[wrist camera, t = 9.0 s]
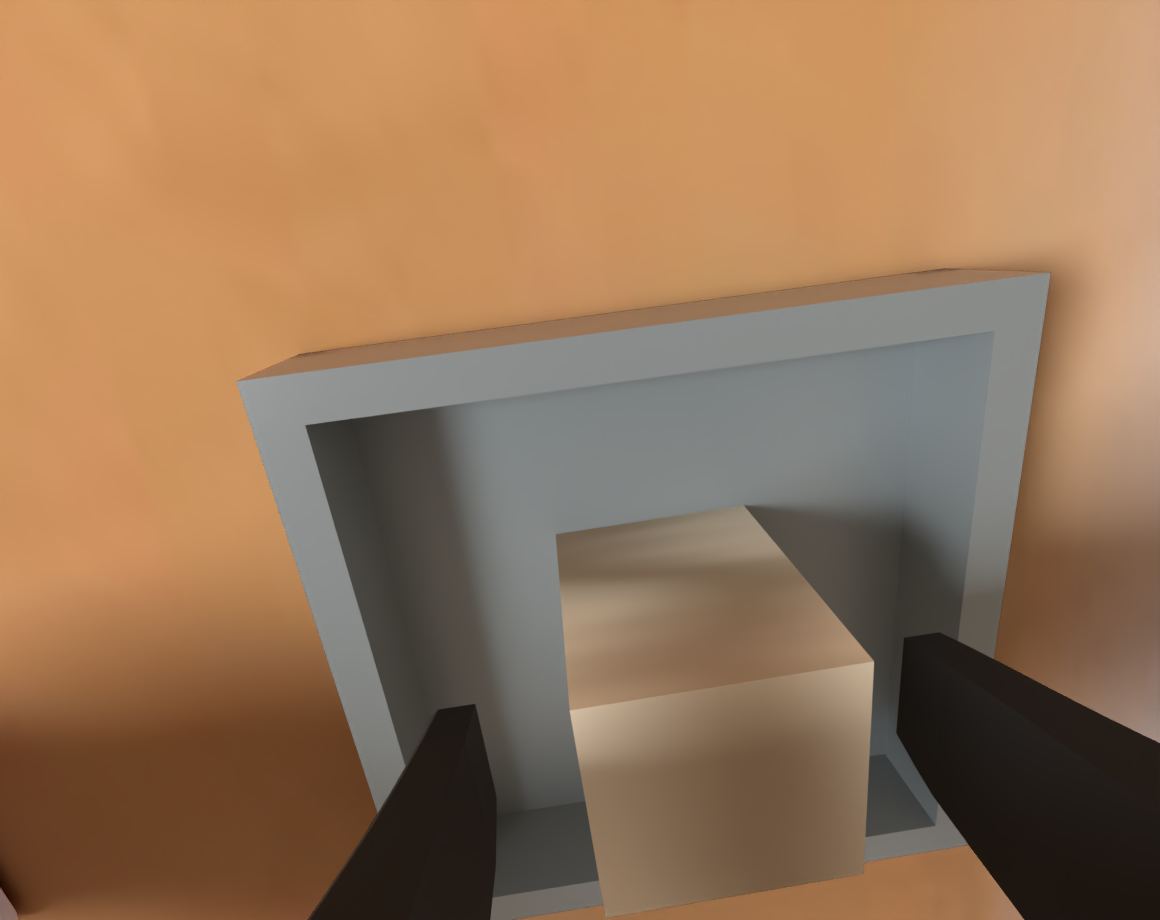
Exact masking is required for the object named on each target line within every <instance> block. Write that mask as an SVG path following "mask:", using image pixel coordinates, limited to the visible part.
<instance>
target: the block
mask: <svg viewBox="0 0 1160 920" xmlns="http://www.w3.org/2000/svg"><path fill="white" fill-rule="evenodd" d="M556 545H557V558H558V570H559V583H560V596H561V608H562V621H563V634H564V646H565V659H566V671H567V684H568V697H569V709H570V716H571V721H572V727H573V733H574V739H575V744H576V750H577V756H578V762H579V767H580V773H581V779H582V785H583V790H584V796H585V802H586V808H587V813H588V819H589V825H590V831H591V836H592V842H593V848H594V854H595V859H596V865H597V871H598V877H599V882H600V888H601V894H602V900H603V905H604V911H605V917H606V918H610V917H616V916H622V915H627V914H633V913H639V912H645V911H651V910H657V909H662V908H668V907H674V906H680V905H686V904H692V903H697V902H703V901H709V900H715V899H721V898H727V897H732V896H738V895H744V894H750V893H756V892H762V891H767V890H773V889H779V888H785V887H791V886H797V885H802V884H808V883H814V882H820V881H826V880H832V879H837V878H843V877H849V876H855V875H861V874H864V855H865V835H866V815H867V795H868V774H869V754H870V734H871V714H872V694H873V674H874V661H873V660H872V658H871V657H870V656H869V655H868V654H867V652H866V651H865V650H864V649H863V648H862V646H861V645H860V644H859V643H858V642H857V640H856V639H855V638H854V637H853V636H852V634H851V633H850V632H849V631H848V630H847V628H846V627H845V626H844V625H843V624H842V622H841V621H840V620H839V619H838V618H837V616H836V615H835V614H834V613H833V612H832V610H831V609H830V608H829V607H828V606H827V604H826V603H825V602H824V601H823V600H822V598H821V597H820V596H819V595H818V594H817V592H816V591H815V590H814V589H813V588H812V586H811V585H810V584H809V583H808V582H807V581H806V579H805V578H804V577H803V576H802V575H801V573H800V572H799V571H798V570H797V569H796V567H795V566H794V565H793V564H792V563H791V561H790V560H789V559H788V558H787V557H786V555H785V554H784V553H783V552H782V551H781V549H780V548H779V547H778V546H777V545H776V543H775V542H774V541H773V540H772V539H771V537H770V536H769V535H768V534H767V533H766V531H765V530H764V529H763V528H762V527H761V525H760V524H759V523H758V522H757V521H756V519H755V518H754V517H753V516H752V515H751V513H750V512H749V511H748V510H747V509H746V507H745V506H744V505H743V506H737V507H730V508H724V509H717V510H711V511H704V512H698V513H691V514H684V515H678V516H671V517H665V518H658V519H652V520H645V521H639V522H632V523H626V524H619V525H613V526H606V527H600V528H593V529H587V530H580V531H574V532H567V533H561V534H556Z"/></svg>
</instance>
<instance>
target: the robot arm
mask: <svg viewBox="0 0 1160 920" xmlns="http://www.w3.org/2000/svg"><path fill="white" fill-rule="evenodd" d="M896 734H897V735H898V737H899V739H900V741H901V742H902V744H903V746H904V748H905V750H906V751H907V753H908V755H909V757H910V758H911V760H912V762H913V764H914V766H915V767H916V769H917V771H918V772H919V774H920V776H921V777H922V779H923V781H924V782H925V784H926V786H927V787H928V789H929V791H930V792H931V794H932V795H933V797H934V798H935V800H936V801H937V802H938V804H939V805H940V806H941V808H942V809H943V811H944V812H945V813H946V815H947V816H948V817H949V819H950V820H951V822H952V823H953V824H954V826H955V827H956V828H957V830H958V831H959V832H960V834H961V835H962V837H963V838H964V839H965V841H966V842H967V843H968V845H969V846H970V847H971V849H972V850H973V851H974V853H975V854H976V855H977V857H978V858H979V859H980V861H981V862H982V863H983V865H984V866H985V867H986V869H987V870H988V871H989V873H990V874H991V875H992V877H993V878H994V880H995V881H996V882H997V884H998V885H999V886H1000V888H1001V889H1002V890H1003V892H1004V893H1005V894H1006V896H1007V897H1008V898H1009V900H1010V901H1011V902H1012V904H1013V905H1014V906H1015V908H1016V909H1017V910H1018V912H1019V913H1020V914H1021V916H1022V917H1023V918H1024V920H1160V743H1158V742H1156V741H1154V740H1152V739H1150V738H1148V737H1146V736H1143V735H1141V734H1139V733H1137V732H1135V731H1133V730H1131V729H1129V728H1127V727H1125V726H1123V725H1121V724H1119V723H1117V722H1115V721H1113V720H1111V719H1109V718H1107V717H1105V716H1103V715H1101V714H1099V713H1097V712H1095V711H1093V710H1091V709H1089V708H1087V707H1085V706H1083V705H1081V704H1079V703H1077V702H1075V701H1073V700H1071V699H1069V698H1067V697H1065V696H1063V695H1061V694H1060V693H1058V692H1056V691H1054V690H1052V689H1050V688H1048V687H1046V686H1044V685H1042V684H1040V683H1038V682H1036V681H1035V680H1033V679H1031V678H1029V677H1027V676H1025V675H1023V674H1021V673H1019V672H1017V671H1015V670H1014V669H1012V668H1010V667H1008V666H1006V665H1004V664H1002V663H1000V662H998V661H996V660H994V659H992V658H991V657H989V656H987V655H985V654H983V653H981V652H979V651H977V650H975V649H973V648H971V647H969V646H967V645H965V644H963V643H961V642H959V641H957V640H955V639H953V638H951V637H949V636H946V635H944V634H942V633H940V632H938V633H931V634H925V635H918V636H912V637H905V638H904V642H903V655H902V667H901V679H900V692H899V704H898V716H897V729H896ZM496 831H497V796H496V792H495V787H494V783H493V779H492V774H491V770H490V766H489V761H488V757H487V752H486V748H485V744H484V739H483V735H482V731H481V726H480V722H479V717H478V713H477V709H476V704H470V705H464V706H457V707H451V708H444V709H438V710H437V712H436V713H435V714H434V715H433V717H432V719H431V720H430V722H429V724H428V726H427V728H426V730H425V732H424V734H423V735H422V737H421V739H420V741H419V743H418V745H417V746H416V748H415V750H414V752H413V754H412V755H411V757H410V759H409V761H408V763H407V764H406V766H405V768H404V770H403V771H402V773H401V775H400V777H399V778H398V780H397V782H396V784H395V785H394V787H393V789H392V790H391V792H390V794H389V795H388V797H387V799H386V800H385V802H384V804H383V805H382V807H381V808H380V810H379V812H378V813H377V815H376V817H375V818H374V820H373V822H372V823H371V825H370V827H369V828H368V830H367V832H366V833H365V835H364V836H363V838H362V839H361V841H360V843H359V844H358V846H357V847H356V849H355V850H354V852H353V853H352V855H351V856H350V858H349V859H348V861H347V862H346V864H345V865H344V867H343V868H342V870H341V871H340V873H339V874H338V876H337V877H336V879H335V880H334V882H333V883H332V885H331V886H330V888H329V889H328V891H327V892H326V894H325V895H324V897H323V898H322V900H321V901H320V902H319V904H318V905H317V907H316V908H315V910H314V911H313V912H312V914H311V915H310V917H309V918H308V919H307V920H490V918H491V909H492V899H493V890H494V880H495V870H496ZM17 918H18V916H17V913H16V910H15V909H14V907H13V906H12V904H11V903H10V901H9V900H8V898H7V897H6V895H5V894H4V892H3V891H2V889H1V888H0V920H17Z"/></svg>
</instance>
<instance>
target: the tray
mask: <svg viewBox="0 0 1160 920" xmlns="http://www.w3.org/2000/svg"><path fill="white" fill-rule="evenodd" d="M1050 275H1051V272H1023V271H996V270H969V269H938V270H930V271H923V272H915V273H908V274H900V275H893V276H885V277H878V278H870V279H863V280H855V281H848V282H840V283H833V284H825V285H817V286H810V287H802V288H795V289H787V290H780V291H772V292H765V293H757V294H750V295H742V296H735V297H727V298H720V299H712V300H704V301H697V302H689V303H682V304H674V305H667V306H659V307H652V308H644V309H637V310H629V311H622V312H614V313H607V314H599V315H591V316H584V317H576V318H569V319H561V320H554V321H546V322H539V323H531V324H524V325H516V326H509V327H501V328H494V329H486V330H478V331H471V332H463V333H456V334H448V335H441V336H433V337H426V338H418V339H411V340H403V341H396V342H388V343H381V344H373V345H366V346H358V347H350V348H343V349H335V350H328V351H320V352H313V353H305V354H299V355H296V356H294V357H292V358H290V359H287V360H285V361H283V362H280V363H278V364H276V365H273V366H271V367H269V368H266V369H264V370H262V371H259V372H257V373H255V374H252V375H250V376H248V377H245V378H243V379H241V380H238V381H236V382H237V385H238V388H239V391H240V394H241V397H242V401H243V404H244V407H245V410H246V413H247V416H248V419H249V422H250V425H251V428H252V431H253V434H254V437H255V440H256V443H257V446H258V449H259V452H260V456H261V459H262V462H263V465H264V468H265V471H266V474H267V477H268V480H269V483H270V486H271V489H272V492H273V495H274V498H275V501H276V504H277V507H278V511H279V514H280V517H281V520H282V523H283V526H284V529H285V532H286V535H287V538H288V541H289V544H290V547H291V550H292V553H293V556H294V559H295V562H296V566H297V569H298V572H299V575H300V578H301V581H302V584H303V587H304V590H305V593H306V596H307V599H308V602H309V605H310V608H311V611H312V614H313V617H314V621H315V624H316V627H317V630H318V633H319V636H320V639H321V642H322V645H323V648H324V651H325V654H326V657H327V660H328V663H329V666H330V669H331V672H332V675H333V679H334V682H335V685H336V688H337V691H338V694H339V697H340V700H341V703H342V706H343V709H344V712H345V715H346V718H347V721H348V724H349V727H350V730H351V734H352V737H353V740H354V743H355V746H356V749H357V752H358V755H359V758H360V761H361V764H362V767H363V770H364V773H365V776H366V779H367V782H368V785H369V789H370V792H371V795H372V798H373V801H374V804H375V807H376V810H377V813H378V812H379V810H380V808H381V807H382V805H383V804H384V802H385V800H386V799H387V797H388V795H389V794H390V792H391V790H392V789H393V787H394V785H395V784H396V782H397V780H398V778H399V777H400V775H401V773H402V771H403V770H404V768H405V766H406V764H407V763H408V761H409V759H410V757H411V755H412V754H413V752H414V750H415V748H416V746H417V745H418V743H419V741H420V739H421V737H422V735H423V734H424V732H425V730H426V728H427V726H428V724H429V722H430V720H431V719H432V717H433V715H434V714H435V713H436V712H437V710H438V709H444V708H451V707H457V706H464V705H470V704H476V709H477V713H478V717H479V722H480V726H481V731H482V735H483V739H484V744H485V748H486V752H487V757H488V761H489V766H490V770H491V774H492V779H493V783H494V787H495V792H496V796H497V831H496V870H495V880H494V890H493V899H492V909H491V918H490V920H514V919H520V918H527V917H533V916H539V915H545V914H551V913H557V912H563V911H569V910H576V909H582V908H588V907H594V906H600V905H603V900H602V894H601V888H600V882H599V877H598V871H597V865H596V859H595V854H594V848H593V842H592V836H591V831H590V825H589V819H588V813H587V808H586V802H585V796H584V790H583V785H582V779H581V773H580V767H579V762H578V756H577V750H576V744H575V739H574V733H573V727H572V721H571V716H570V709H569V697H568V684H567V671H566V659H565V646H564V634H563V621H562V608H561V596H560V583H559V570H558V558H557V545H556V534H561V533H567V532H574V531H580V530H587V529H593V528H600V527H606V526H613V525H619V524H626V523H632V522H639V521H645V520H652V519H658V518H665V517H671V516H678V515H684V514H691V513H698V512H704V511H711V510H717V509H724V508H730V507H737V506H743V505H744V506H745V507H746V509H747V510H748V511H749V512H750V513H751V515H752V516H753V517H754V518H755V519H756V521H757V522H758V523H759V524H760V525H761V527H762V528H763V529H764V530H765V531H766V533H767V534H768V535H769V536H770V537H771V539H772V540H773V541H774V542H775V543H776V545H777V546H778V547H779V548H780V549H781V551H782V552H783V553H784V554H785V555H786V557H787V558H788V559H789V560H790V561H791V563H792V564H793V565H794V566H795V567H796V569H797V570H798V571H799V572H800V573H801V575H802V576H803V577H804V578H805V579H806V581H807V582H808V583H809V584H810V585H811V586H812V588H813V589H814V590H815V591H816V592H817V594H818V595H819V596H820V597H821V598H822V600H823V601H824V602H825V603H826V604H827V606H828V607H829V608H830V609H831V610H832V612H833V613H834V614H835V615H836V616H837V618H838V619H839V620H840V621H841V622H842V624H843V625H844V626H845V627H846V628H847V630H848V631H849V632H850V633H851V634H852V636H853V637H854V638H855V639H856V640H857V642H858V643H859V644H860V645H861V646H862V648H863V649H864V650H865V651H866V652H867V654H868V655H869V656H870V657H871V658H872V660H873V661H874V674H873V694H872V714H871V734H870V754H869V774H868V795H867V815H866V835H865V855H864V862H869V861H875V860H881V859H887V858H894V857H900V856H906V855H912V854H918V853H924V852H930V851H936V850H943V849H949V848H955V847H961V846H967V842H966V841H965V839H964V838H963V837H962V835H961V834H960V832H959V831H958V830H957V828H956V827H955V826H954V824H953V823H952V822H951V820H950V819H949V817H948V816H947V815H946V813H945V812H944V811H943V809H942V808H941V806H940V805H939V804H938V802H937V801H936V800H935V798H934V797H933V795H932V794H931V792H930V791H929V789H928V787H927V786H926V784H925V782H924V781H923V779H922V777H921V776H920V774H919V772H918V771H917V769H916V767H915V766H914V764H913V762H912V760H911V758H910V757H909V755H908V753H907V751H906V750H905V748H904V746H903V744H902V742H901V741H900V739H899V737H898V735H897V734H896V729H897V716H898V704H899V692H900V679H901V667H902V655H903V642H904V638H905V637H912V636H918V635H925V634H931V633H938V632H940V633H942V634H944V635H946V636H949V637H951V638H953V639H955V640H957V641H959V642H961V643H963V644H965V645H967V646H969V647H971V648H973V649H975V650H977V651H979V652H981V653H983V654H985V655H987V656H989V657H991V658H992V659H994V656H995V649H996V642H997V635H998V629H999V622H1000V615H1001V608H1002V601H1003V595H1004V588H1005V581H1006V574H1007V567H1008V560H1009V554H1010V547H1011V540H1012V533H1013V526H1014V520H1015V513H1016V506H1017V499H1018V492H1019V486H1020V479H1021V472H1022V465H1023V458H1024V452H1025V445H1026V438H1027V431H1028V424H1029V418H1030V411H1031V404H1032V397H1033V390H1034V384H1035V377H1036V370H1037V363H1038V356H1039V350H1040V343H1041V336H1042V329H1043V322H1044V316H1045V309H1046V302H1047V295H1048V288H1049V282H1050Z"/></svg>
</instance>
